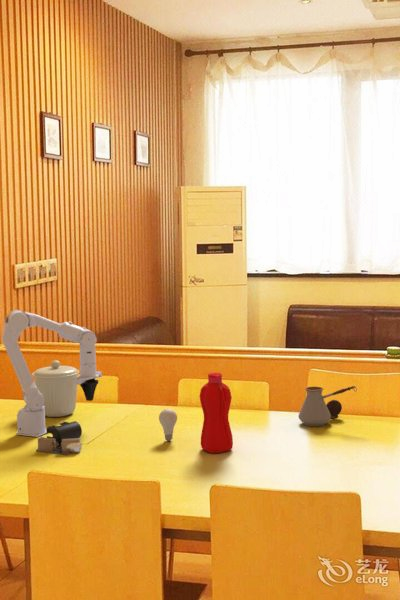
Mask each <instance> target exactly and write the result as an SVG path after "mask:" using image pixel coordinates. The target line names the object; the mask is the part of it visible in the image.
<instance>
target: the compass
mask: <svg viewBox="0 0 400 600" xmlns="http://www.w3.org/2000/svg"><path fill="white" fill-rule="evenodd" d="M326 406H327V408H328V410H329V412H330V415H331V418H330V419H335V418H338V417H339V415H340V413H341V412H342V409H343V408H342V407H343V405H342V403H341V402H340V401H339V400H337V399H334V398H333V399H331V400H329V401H328V402H327V403H326Z"/></svg>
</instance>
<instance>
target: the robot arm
mask: <svg viewBox="0 0 400 600" xmlns="http://www.w3.org/2000/svg"><path fill="white" fill-rule="evenodd" d="M27 327H29V328H33V327H34V328H35V327H41V328H43V329H46V330H50V331H53V332H55V333H57V335H58V336H59V338H62V339H65V340H67V341H71V342H74V343H75V344H76V343H79V371H80V372H79V374H80V375H78V378H76V379H75V384H77V386H78V385H79V386H80V388H81V389H82V392H83V394H84V398H85V401H89V402H92V401H93V400H94V396H95V391H96V389H97V385H98V384H99V379H98V378H102V377H103V373H102V371H97V355H96V344H97V341H98V338H97V335H96V334H95V332H93V331H92V330H90V329H89V328H86V327H84V326H79V325H76V324H74V323H73V322H72V321H70V320H69V321H64V322H62V323H59V322H57V321H54V320H51V319H49V318H47V317H43V316H41V315H38V314H36V313H33V312H28V311H22V310H20V309H13V310H11V311H10V312H8V315H7V317H6V318H5V319H4V325H3V330H2V335H1V341H2V343H3V344H2V345H3V347H4V349H5V350H6V353H7V355H8V358H9V360H10V363H11V364H12V367H13V369H14V372H15V374H16V376H17V379H18V381H19V384H20V386H21V389H22V393H23V396H22V400H23V401H24V403H26V404H25V405H24V406H23V407H21V408H20V409H18V411H17V414H16V425H17V432H16V435H17V436H18V435H19V436H27V437H34V438H35V437H37V438H40V437H42V436H43V435H46V434H48V433H47V430H46V429H47V427H46V416H45V406H43V405H44V402H45V400H44V397H43V395H42V394H41V393H40V391H39V390H38V389H37V387H36V385H35V381H34V378H33V376H32V373H31V372H30V370H29V369H30V368H29V367H28V364H27V362H26V359H25V357H24V355H23V353H22V351H21V347H20V346H19V343H18V339H19V337H20V335H21V334H22V332H24V331H25V329H27Z"/></svg>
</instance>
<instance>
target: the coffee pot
mask: <svg viewBox="0 0 400 600" xmlns="http://www.w3.org/2000/svg"><path fill="white" fill-rule="evenodd" d="M323 390H324V387H321V386H307V387H305V392H306V396H305V398H304V401H303V402H302V403H303V404H302V406H301V407H300V410H299V413H298V415H297V416H298V419H299V420H300V422H301V423H303V424H304V426H309V427H323V426H325V425H327V424H328V422H330V420H331V419H332V418H331V415H330V412H329V410H328V408H327V406H326V405H327V403H326V402H325V399H327V398H329V397H331V396H336V395H339V394H342V393H343V394H344V393H345V392H347V391H351V390H353V391H354V392H355V393H356V392H357V391H358V389H357V387H356V386H355V385H354V386H353V385H352V386H347V387H346V388H342V389H339V390H336V391H333V392H332V393H328V394H325V395H322V393H323Z"/></svg>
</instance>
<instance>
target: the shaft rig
mask: <svg viewBox="0 0 400 600" xmlns="http://www.w3.org/2000/svg"><path fill="white" fill-rule="evenodd" d="M58 445H59V441H58V439H57V438H47V437H44V436H40V437H37V448H36V450H35V451H36V452H39V453H40V452H41V453H46V454H47V453H48V454H54V455H55V454H56V455H57V454H58V455H64V456H68V455H70V454H77V453H78V454H79V453H81V451H82V446H83V445H82V442H81V437H80V438H72V439H62V443H61V446H60V447H59V446H58ZM57 446H58V447H57Z"/></svg>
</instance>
